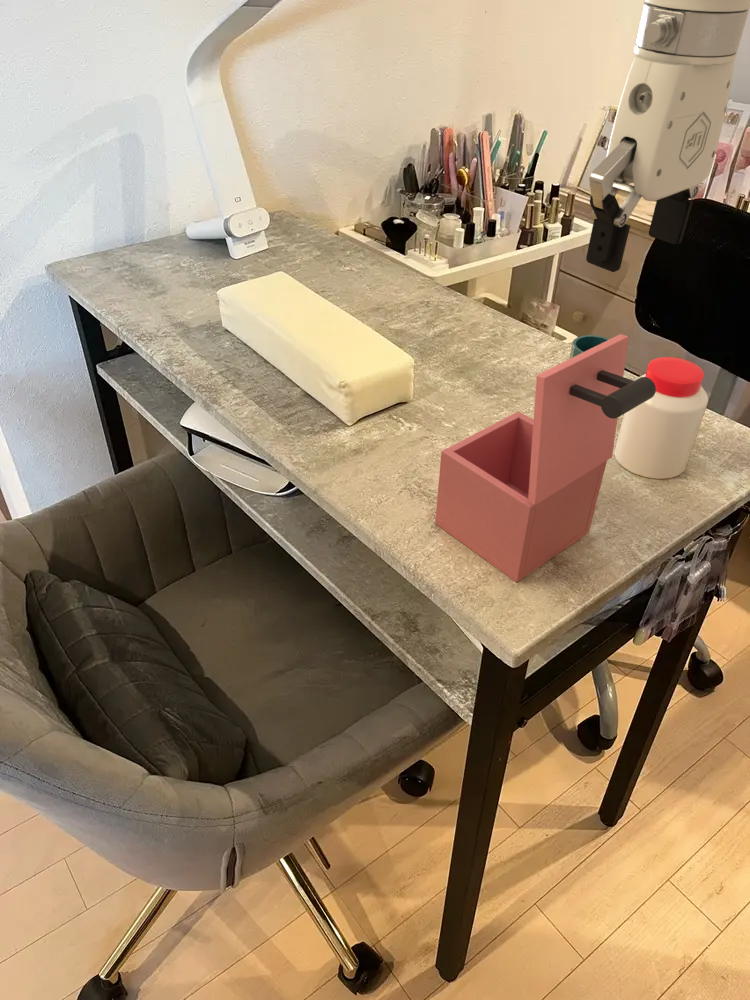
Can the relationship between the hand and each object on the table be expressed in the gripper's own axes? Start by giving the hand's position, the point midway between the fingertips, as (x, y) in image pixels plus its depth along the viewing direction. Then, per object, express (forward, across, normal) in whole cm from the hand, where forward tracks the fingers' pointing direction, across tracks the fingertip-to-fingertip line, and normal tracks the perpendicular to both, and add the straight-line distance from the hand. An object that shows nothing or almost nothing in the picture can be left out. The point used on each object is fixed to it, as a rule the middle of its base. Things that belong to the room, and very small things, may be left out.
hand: (634, 252), depth 69 cm
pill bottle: (+23, +6, -5) cm, 25 cm away
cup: (+23, +12, +8) cm, 27 cm away
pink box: (+23, -15, -2) cm, 28 cm away
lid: (+8, -15, -7) cm, 18 cm away
